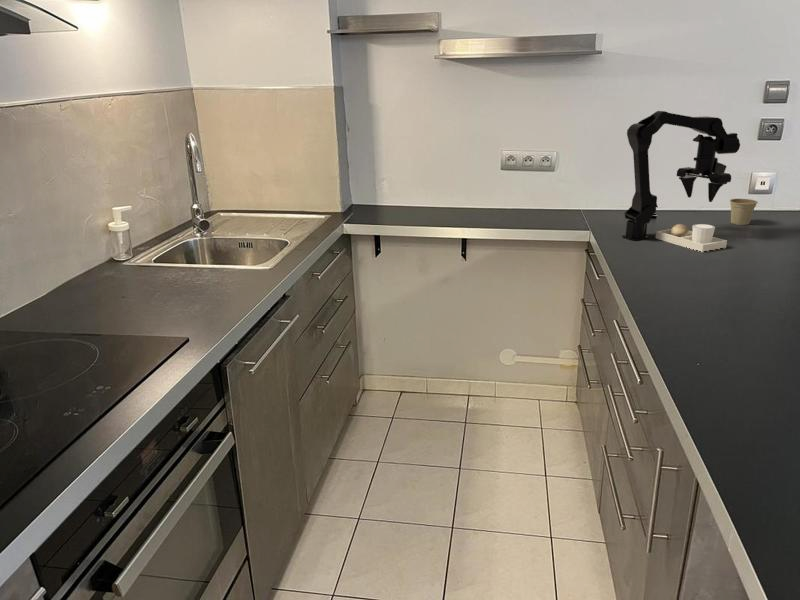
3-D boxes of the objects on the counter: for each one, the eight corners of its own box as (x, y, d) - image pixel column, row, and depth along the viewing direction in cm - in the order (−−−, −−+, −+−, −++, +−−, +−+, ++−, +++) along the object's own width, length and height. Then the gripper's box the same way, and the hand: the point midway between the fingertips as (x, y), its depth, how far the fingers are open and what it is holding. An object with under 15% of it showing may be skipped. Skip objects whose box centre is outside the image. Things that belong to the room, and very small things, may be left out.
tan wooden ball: (678, 242, 212) (680, 226, 210) (666, 238, 217) (668, 223, 215) (690, 240, 214) (693, 224, 212) (678, 236, 219) (680, 221, 217)
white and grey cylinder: (709, 250, 202) (713, 229, 200) (687, 247, 206) (690, 227, 204) (714, 245, 208) (717, 225, 205) (692, 242, 211) (694, 222, 209)
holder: (702, 252, 200) (703, 245, 200) (655, 238, 218) (656, 231, 217) (726, 248, 204) (727, 240, 203) (678, 234, 222) (679, 227, 221)
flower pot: (759, 226, 229) (763, 203, 226) (733, 226, 229) (737, 203, 226) (746, 220, 238) (749, 198, 235) (721, 221, 238) (725, 198, 235)
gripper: (746, 155, 207) (739, 201, 212) (701, 150, 223) (695, 192, 228) (722, 158, 203) (715, 205, 208) (678, 152, 219) (672, 196, 225)
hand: (699, 199), depth 218 cm, fingers open, 9 cm apart
